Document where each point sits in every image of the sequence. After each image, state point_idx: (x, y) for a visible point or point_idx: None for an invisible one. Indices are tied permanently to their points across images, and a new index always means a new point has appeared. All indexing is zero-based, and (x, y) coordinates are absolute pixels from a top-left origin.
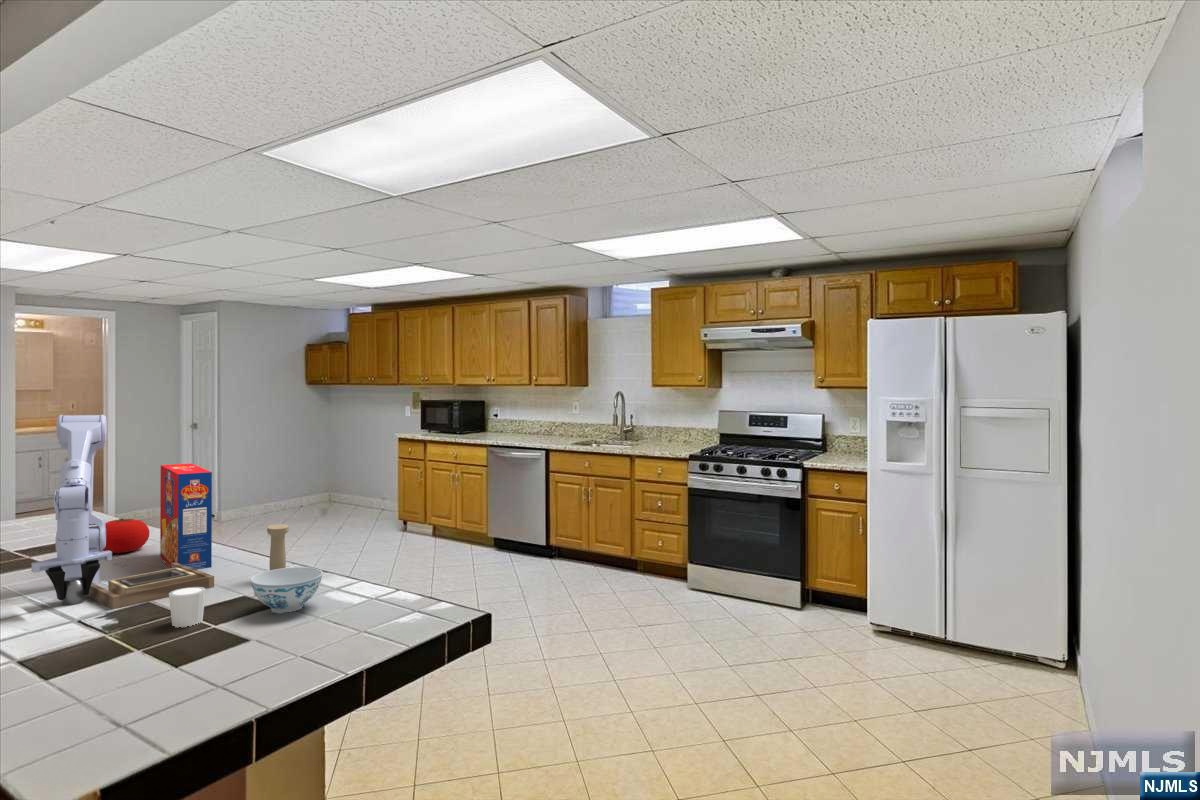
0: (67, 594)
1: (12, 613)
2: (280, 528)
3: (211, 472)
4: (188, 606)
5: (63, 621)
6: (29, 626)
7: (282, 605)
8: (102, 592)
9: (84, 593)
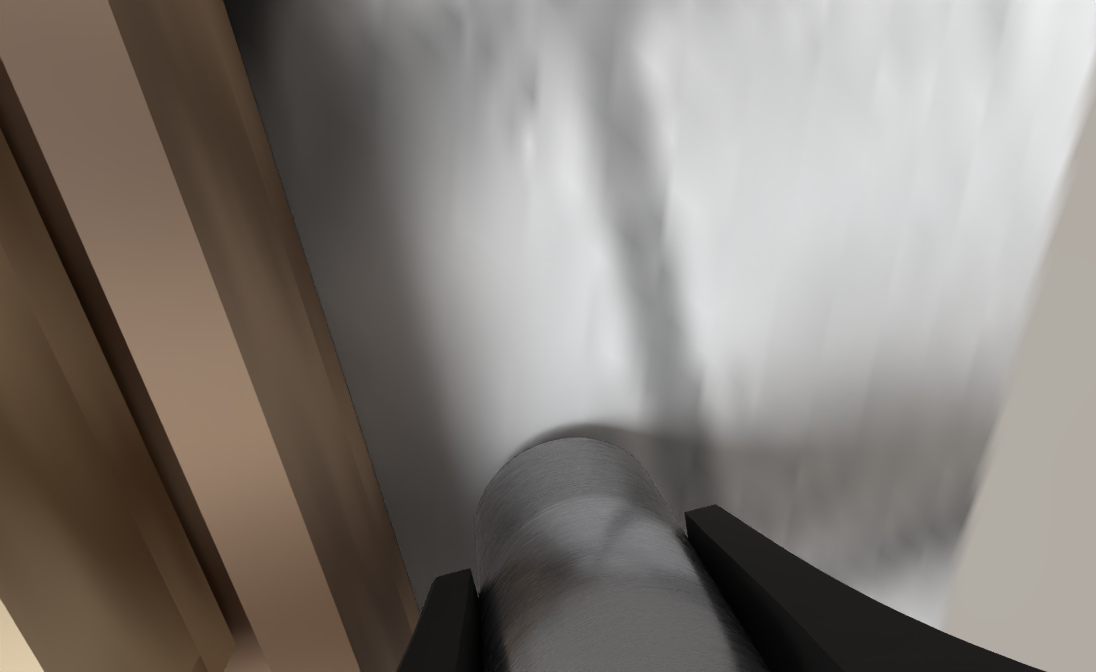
0: (676, 538)
1: (927, 617)
2: None
3: None
4: None
5: (696, 47)
6: (951, 103)
7: None
8: (239, 337)
9: (475, 603)
